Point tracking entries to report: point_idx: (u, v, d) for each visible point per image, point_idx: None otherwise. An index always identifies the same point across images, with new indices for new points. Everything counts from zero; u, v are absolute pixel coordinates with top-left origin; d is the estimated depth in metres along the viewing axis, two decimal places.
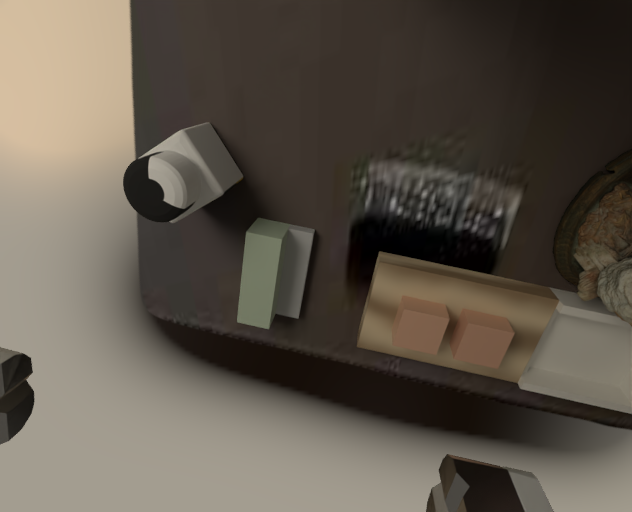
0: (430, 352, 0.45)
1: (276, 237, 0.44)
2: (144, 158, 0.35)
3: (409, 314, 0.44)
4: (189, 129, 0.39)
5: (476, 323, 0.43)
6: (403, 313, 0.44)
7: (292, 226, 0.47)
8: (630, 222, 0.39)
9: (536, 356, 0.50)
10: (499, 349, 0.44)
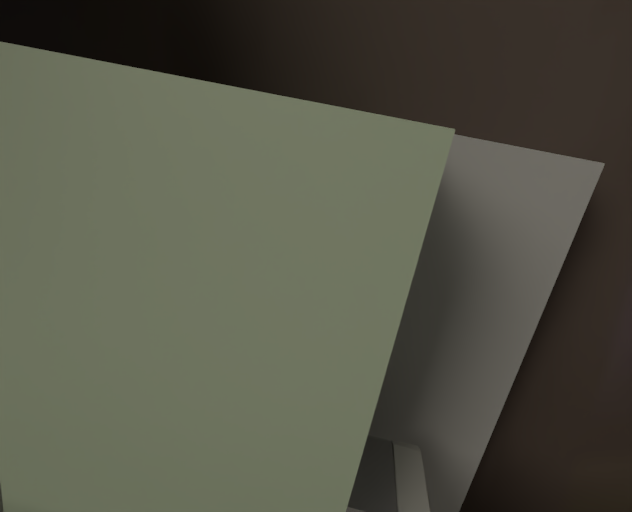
0: None
1: (361, 112, 0.03)
2: None
3: None
4: None
5: None
6: None
7: None
8: None
9: None
10: None
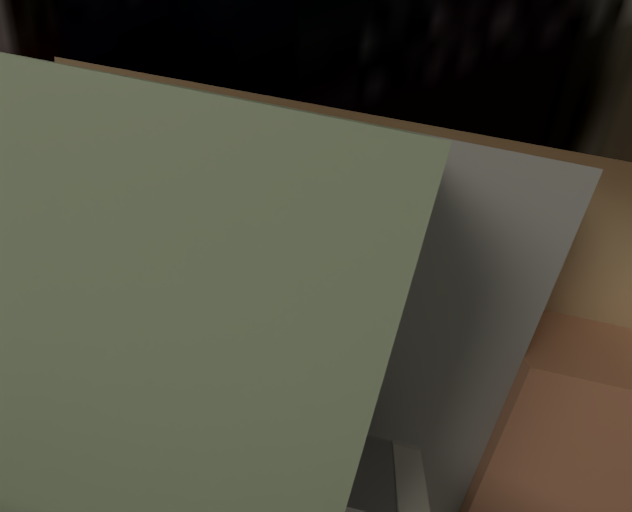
0: None
1: (359, 122, 0.03)
2: None
3: (561, 404, 0.07)
4: None
5: None
6: (524, 395, 0.07)
7: None
8: None
9: None
10: None
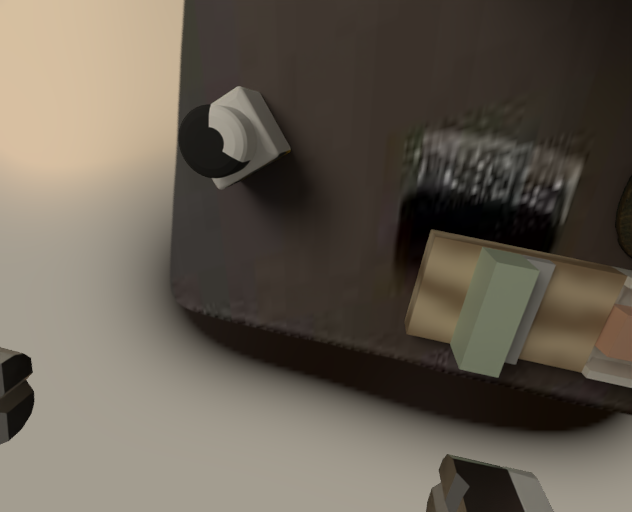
0: None
1: (531, 268, 0.37)
2: (204, 106, 0.33)
3: None
4: (245, 88, 0.38)
5: None
6: (626, 320, 0.41)
7: (526, 257, 0.41)
8: None
9: None
10: None
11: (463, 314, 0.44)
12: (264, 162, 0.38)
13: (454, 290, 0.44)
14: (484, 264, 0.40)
